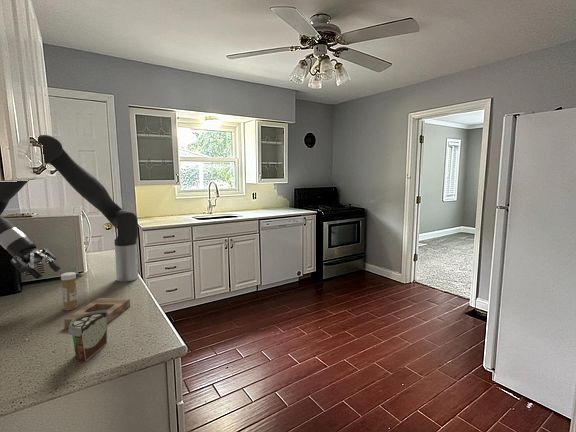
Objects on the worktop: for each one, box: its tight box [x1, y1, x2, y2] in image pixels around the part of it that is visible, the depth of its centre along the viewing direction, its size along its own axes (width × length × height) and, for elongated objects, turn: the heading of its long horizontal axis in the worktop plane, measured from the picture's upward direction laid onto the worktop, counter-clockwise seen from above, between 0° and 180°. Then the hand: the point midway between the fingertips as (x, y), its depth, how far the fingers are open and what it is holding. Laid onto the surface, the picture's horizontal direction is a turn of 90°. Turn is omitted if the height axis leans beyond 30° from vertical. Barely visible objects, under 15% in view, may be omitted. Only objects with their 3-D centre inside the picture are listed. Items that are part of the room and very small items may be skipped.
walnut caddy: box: [63, 297, 131, 329], centre depth 110 cm, size 18×12×3 cm, turn 179°
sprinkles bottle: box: [60, 271, 79, 311], centre depth 115 cm, size 5×5×14 cm
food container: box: [67, 310, 109, 363], centre depth 87 cm, size 12×6×10 cm, turn 178°
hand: (49, 273), depth 115 cm, fingers open, 8 cm apart
